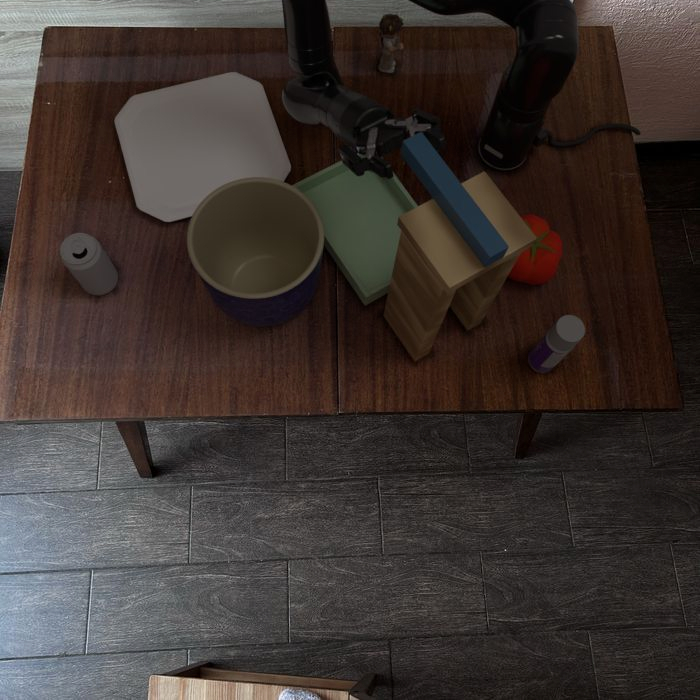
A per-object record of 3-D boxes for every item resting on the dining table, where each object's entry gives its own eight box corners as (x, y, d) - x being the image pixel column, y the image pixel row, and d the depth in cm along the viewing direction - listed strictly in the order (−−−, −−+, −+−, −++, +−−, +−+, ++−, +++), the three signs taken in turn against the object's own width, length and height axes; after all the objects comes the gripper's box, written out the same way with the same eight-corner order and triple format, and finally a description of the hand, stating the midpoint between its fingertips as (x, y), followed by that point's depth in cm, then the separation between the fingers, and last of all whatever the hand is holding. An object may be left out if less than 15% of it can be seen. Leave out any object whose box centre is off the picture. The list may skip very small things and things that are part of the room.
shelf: (445, 273, 124) (484, 170, 94) (484, 327, 121) (537, 238, 91) (380, 310, 121) (398, 216, 91) (417, 366, 118) (449, 288, 88)
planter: (191, 257, 124) (168, 200, 106) (300, 221, 127) (296, 159, 109) (228, 360, 117) (211, 317, 100) (341, 319, 121) (344, 271, 103)
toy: (399, 81, 138) (407, 23, 124) (372, 76, 138) (377, 17, 124) (404, 57, 140) (413, -3, 126) (377, 52, 141) (383, -9, 126)
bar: (418, 144, 95) (421, 131, 92) (503, 257, 90) (509, 246, 87) (400, 154, 95) (402, 140, 92) (484, 268, 89) (490, 257, 86)
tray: (371, 156, 132) (373, 144, 129) (447, 259, 125) (450, 250, 122) (291, 196, 129) (290, 185, 125) (364, 305, 122) (365, 297, 118)
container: (525, 348, 120) (552, 315, 106) (552, 346, 120) (582, 313, 106) (530, 374, 118) (558, 343, 104) (557, 372, 119) (588, 341, 105)
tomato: (474, 243, 127) (485, 219, 119) (535, 222, 128) (549, 197, 120) (504, 303, 123) (517, 282, 115) (566, 281, 125) (583, 259, 117)
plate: (256, 73, 138) (255, 65, 136) (299, 193, 129) (298, 186, 127) (111, 107, 134) (108, 100, 132) (145, 234, 125) (142, 228, 123)
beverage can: (90, 303, 120) (65, 272, 109) (77, 273, 122) (51, 240, 111) (125, 287, 121) (104, 256, 110) (111, 258, 123) (90, 224, 112)
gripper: (313, 119, 102) (366, 156, 90) (394, 80, 104) (456, 111, 93) (326, 164, 107) (378, 205, 95) (403, 125, 110) (463, 160, 98)
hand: (417, 158), depth 94 cm, fingers open, 8 cm apart
